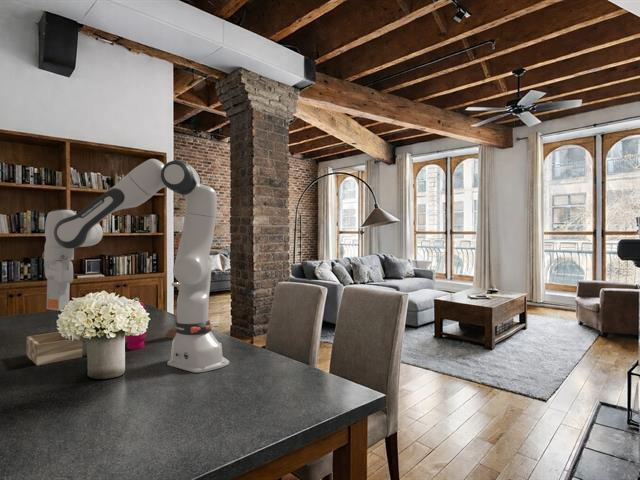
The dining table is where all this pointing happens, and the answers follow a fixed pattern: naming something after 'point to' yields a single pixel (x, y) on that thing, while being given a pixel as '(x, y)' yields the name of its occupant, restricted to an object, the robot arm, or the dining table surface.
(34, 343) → the socket box
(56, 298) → the skincare box
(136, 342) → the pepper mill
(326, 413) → the dining table surface
